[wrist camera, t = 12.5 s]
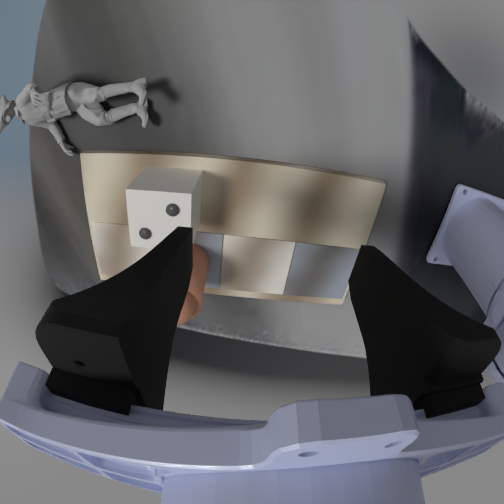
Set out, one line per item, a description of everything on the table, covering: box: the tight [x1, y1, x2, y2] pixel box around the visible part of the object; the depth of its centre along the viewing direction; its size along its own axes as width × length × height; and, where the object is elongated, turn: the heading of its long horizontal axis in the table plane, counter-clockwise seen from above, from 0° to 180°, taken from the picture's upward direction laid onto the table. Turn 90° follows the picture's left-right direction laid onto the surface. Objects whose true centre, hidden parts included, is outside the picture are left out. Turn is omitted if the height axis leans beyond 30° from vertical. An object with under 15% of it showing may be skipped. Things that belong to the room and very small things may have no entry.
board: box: [80, 150, 386, 305], centre depth 23 cm, size 22×12×1 cm, turn 83°
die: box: [125, 166, 203, 248], centre depth 19 cm, size 4×4×4 cm
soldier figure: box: [0, 78, 149, 156], centre depth 16 cm, size 8×5×12 cm
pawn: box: [177, 243, 209, 324], centre depth 21 cm, size 4×4×6 cm
